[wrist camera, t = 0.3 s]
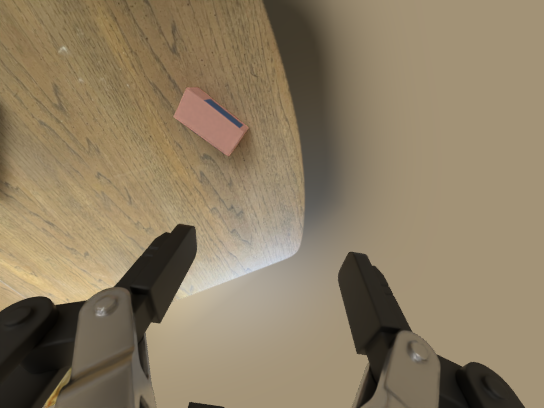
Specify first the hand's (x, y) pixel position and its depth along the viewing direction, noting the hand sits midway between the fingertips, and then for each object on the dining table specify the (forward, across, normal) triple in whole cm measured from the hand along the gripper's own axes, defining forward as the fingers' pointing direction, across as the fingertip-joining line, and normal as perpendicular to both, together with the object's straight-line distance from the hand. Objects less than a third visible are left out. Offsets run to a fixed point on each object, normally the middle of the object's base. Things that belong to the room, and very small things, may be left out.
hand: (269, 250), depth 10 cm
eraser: (+18, +8, -2) cm, 19 cm away
